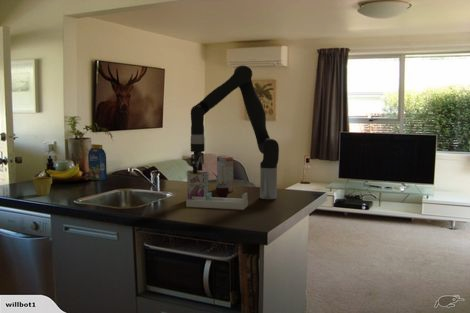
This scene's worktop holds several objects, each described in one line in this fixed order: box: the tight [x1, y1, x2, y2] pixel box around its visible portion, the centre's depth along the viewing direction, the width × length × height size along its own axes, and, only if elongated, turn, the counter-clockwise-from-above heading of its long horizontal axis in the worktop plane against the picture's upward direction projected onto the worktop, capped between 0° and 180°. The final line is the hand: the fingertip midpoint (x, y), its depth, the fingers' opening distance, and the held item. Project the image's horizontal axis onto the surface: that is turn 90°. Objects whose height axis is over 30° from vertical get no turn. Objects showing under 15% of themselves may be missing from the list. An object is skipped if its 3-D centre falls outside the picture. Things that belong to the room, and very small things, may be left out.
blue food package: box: [87, 143, 108, 182], centre depth 316 cm, size 6×12×25 cm, turn 56°
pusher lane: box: [185, 192, 249, 211], centre depth 229 cm, size 9×30×7 cm, turn 76°
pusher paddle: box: [206, 192, 225, 201], centre depth 229 cm, size 7×9×5 cm
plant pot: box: [32, 176, 53, 197], centre depth 261 cm, size 10×10×10 cm
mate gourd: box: [212, 171, 230, 198], centre depth 248 cm, size 8×8×15 cm
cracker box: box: [216, 155, 234, 193], centre depth 274 cm, size 14×6×21 cm, turn 22°
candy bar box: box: [186, 169, 210, 200], centre depth 242 cm, size 11×5×16 cm, turn 58°
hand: (197, 172), depth 242 cm, fingers open, 8 cm apart
